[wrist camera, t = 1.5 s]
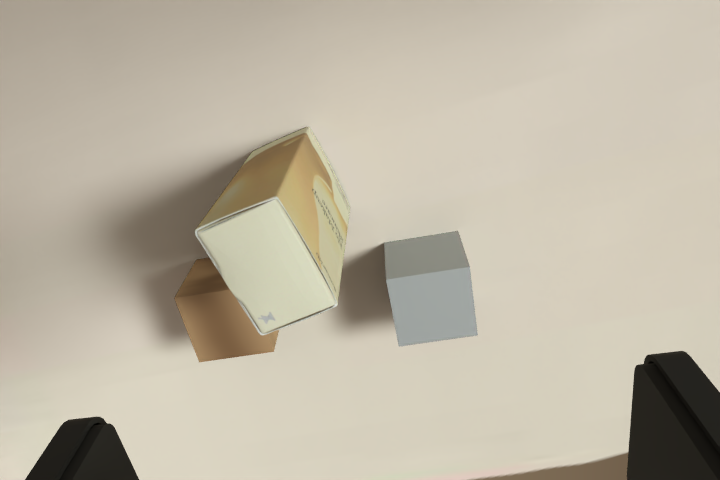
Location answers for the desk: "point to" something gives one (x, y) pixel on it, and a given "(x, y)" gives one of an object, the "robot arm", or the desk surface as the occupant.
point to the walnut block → (217, 317)
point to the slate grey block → (430, 289)
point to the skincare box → (280, 233)
